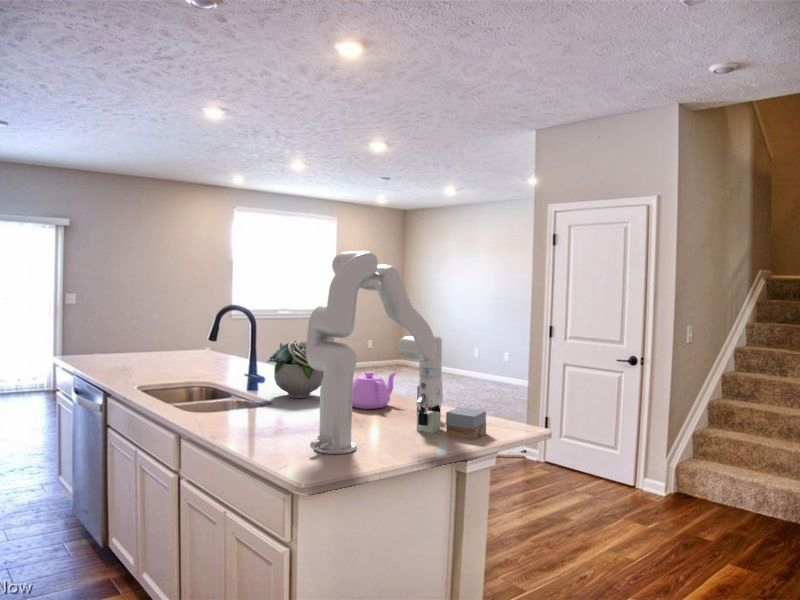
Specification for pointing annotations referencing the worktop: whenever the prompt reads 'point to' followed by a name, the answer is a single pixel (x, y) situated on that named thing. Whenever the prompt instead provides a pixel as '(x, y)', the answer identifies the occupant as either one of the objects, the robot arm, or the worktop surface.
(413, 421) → the worktop surface
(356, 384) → the teapot
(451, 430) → the block bottom
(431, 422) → the sage block
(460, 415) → the block top
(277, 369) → the flower arrangement
